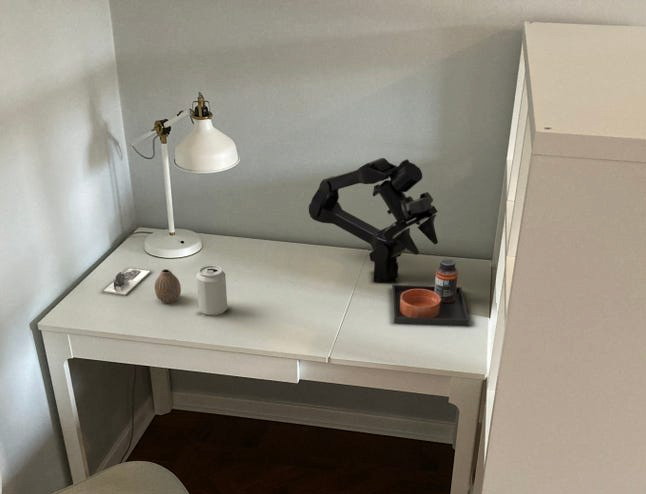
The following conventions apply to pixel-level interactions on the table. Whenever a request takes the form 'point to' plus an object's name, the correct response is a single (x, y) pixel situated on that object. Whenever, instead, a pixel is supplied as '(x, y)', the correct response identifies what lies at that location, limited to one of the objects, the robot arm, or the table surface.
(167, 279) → the vase
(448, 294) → the supplement bottle
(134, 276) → the rock on white stand
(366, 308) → the table surface
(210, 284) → the can
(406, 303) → the bowl
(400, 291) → the tray
